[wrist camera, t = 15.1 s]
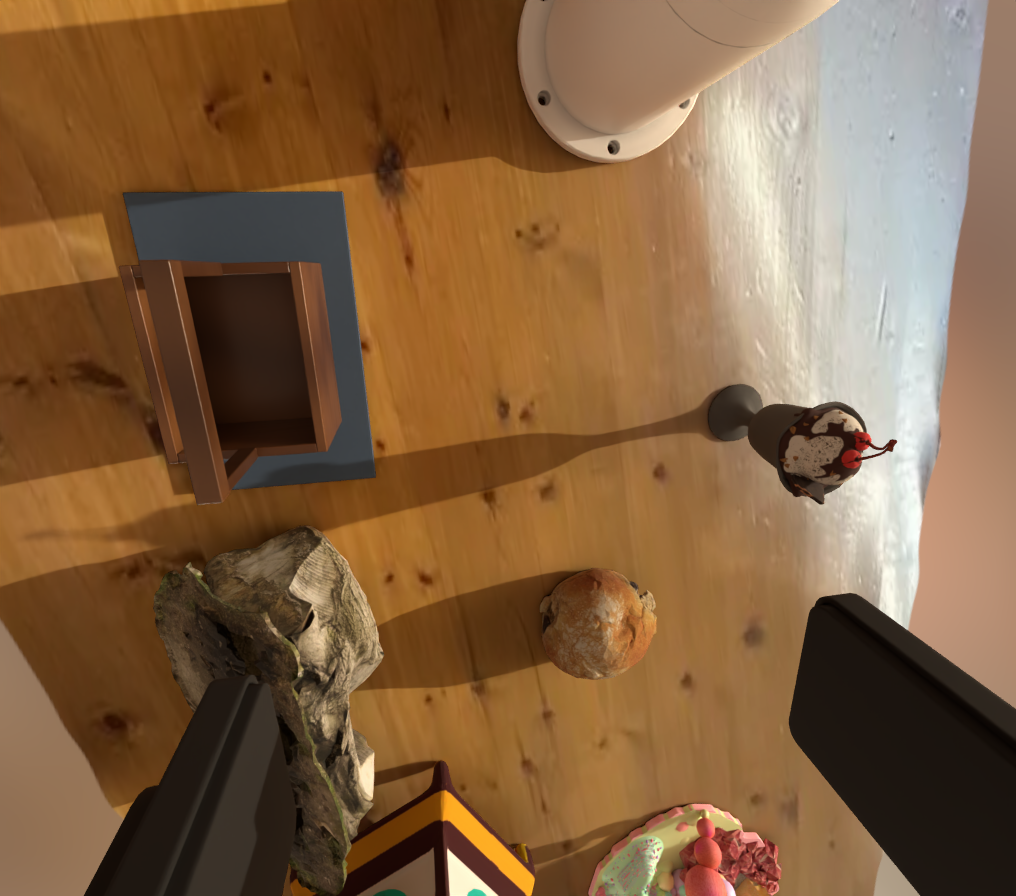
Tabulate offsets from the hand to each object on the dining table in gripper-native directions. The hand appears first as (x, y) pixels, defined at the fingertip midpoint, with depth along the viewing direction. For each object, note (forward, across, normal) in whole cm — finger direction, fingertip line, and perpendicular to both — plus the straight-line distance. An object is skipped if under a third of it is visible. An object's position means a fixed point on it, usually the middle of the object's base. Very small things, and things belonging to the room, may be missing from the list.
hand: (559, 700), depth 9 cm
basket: (+32, +12, -2) cm, 34 cm away
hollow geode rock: (+32, +14, +24) cm, 43 cm away
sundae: (+32, -24, +5) cm, 41 cm away
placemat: (+32, +12, -2) cm, 35 cm away
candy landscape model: (+32, -24, +64) cm, 76 cm away
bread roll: (+32, -12, +23) cm, 42 cm away
